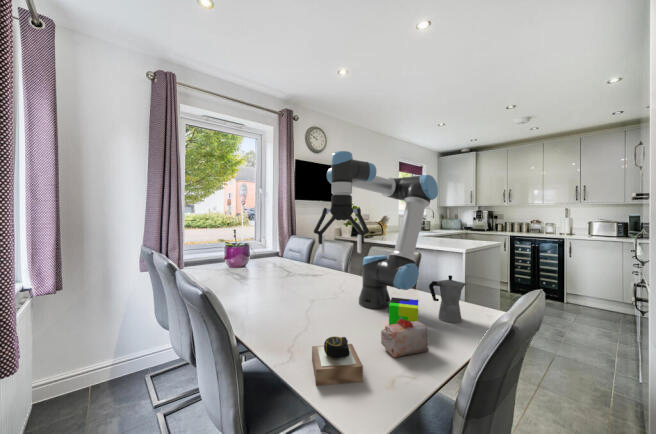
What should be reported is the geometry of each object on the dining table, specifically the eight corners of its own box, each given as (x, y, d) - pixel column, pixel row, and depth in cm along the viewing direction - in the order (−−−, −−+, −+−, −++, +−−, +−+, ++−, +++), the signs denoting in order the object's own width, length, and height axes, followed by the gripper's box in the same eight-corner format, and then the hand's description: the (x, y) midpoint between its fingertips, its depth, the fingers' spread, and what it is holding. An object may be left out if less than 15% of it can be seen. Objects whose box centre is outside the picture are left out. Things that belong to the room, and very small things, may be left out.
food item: (393, 361, 79) (393, 327, 79) (379, 348, 86) (379, 317, 86) (430, 353, 83) (431, 321, 83) (414, 342, 91) (414, 313, 91)
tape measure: (349, 361, 71) (349, 347, 71) (323, 361, 71) (323, 346, 71) (347, 348, 77) (348, 335, 77) (324, 348, 77) (324, 335, 77)
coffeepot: (459, 314, 116) (460, 273, 116) (471, 323, 107) (472, 278, 106) (424, 314, 115) (424, 272, 115) (433, 323, 106) (434, 278, 106)
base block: (351, 357, 81) (352, 343, 81) (362, 381, 69) (362, 365, 69) (312, 359, 79) (312, 345, 79) (316, 385, 67) (316, 368, 67)
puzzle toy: (418, 325, 104) (418, 300, 104) (417, 336, 95) (418, 308, 94) (391, 322, 107) (391, 297, 107) (388, 332, 98) (389, 305, 98)
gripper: (371, 196, 103) (371, 251, 104) (306, 194, 100) (306, 251, 100) (377, 194, 96) (377, 253, 96) (308, 193, 93) (307, 254, 93)
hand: (341, 253), depth 98 cm, fingers open, 13 cm apart
